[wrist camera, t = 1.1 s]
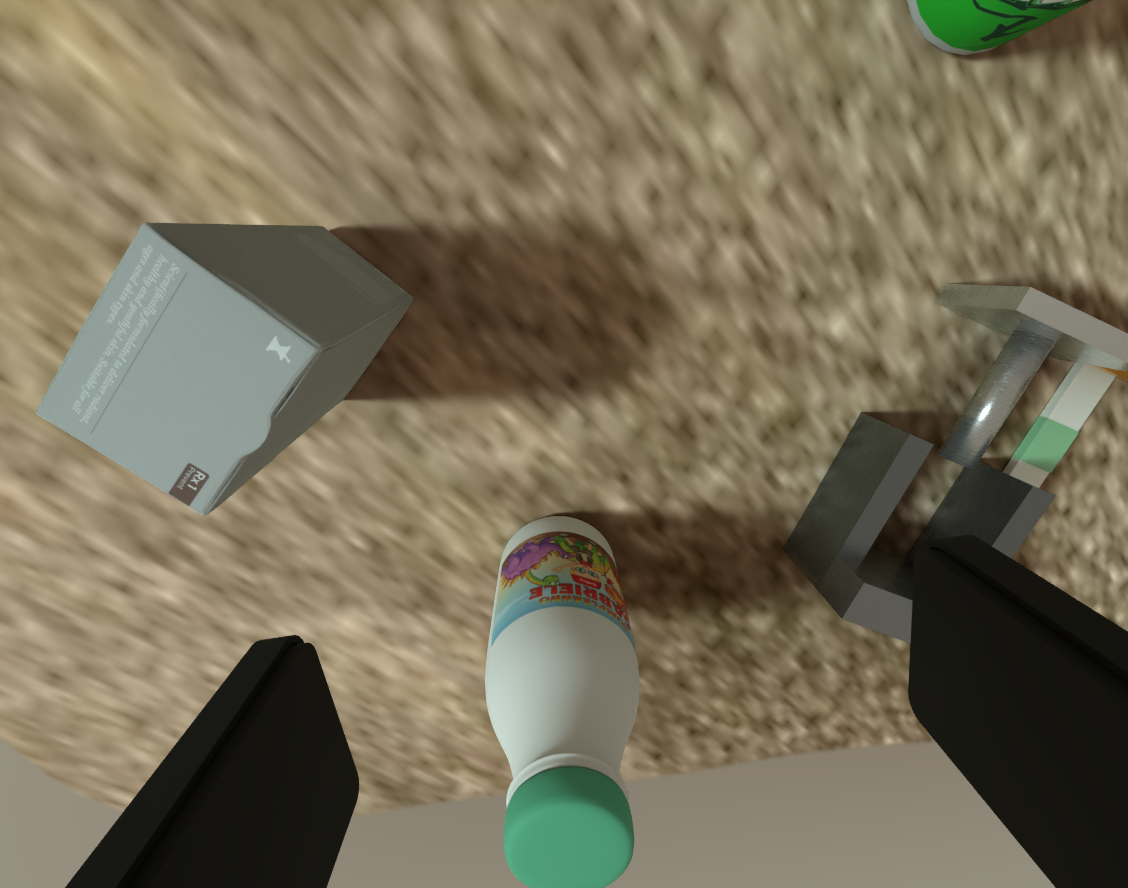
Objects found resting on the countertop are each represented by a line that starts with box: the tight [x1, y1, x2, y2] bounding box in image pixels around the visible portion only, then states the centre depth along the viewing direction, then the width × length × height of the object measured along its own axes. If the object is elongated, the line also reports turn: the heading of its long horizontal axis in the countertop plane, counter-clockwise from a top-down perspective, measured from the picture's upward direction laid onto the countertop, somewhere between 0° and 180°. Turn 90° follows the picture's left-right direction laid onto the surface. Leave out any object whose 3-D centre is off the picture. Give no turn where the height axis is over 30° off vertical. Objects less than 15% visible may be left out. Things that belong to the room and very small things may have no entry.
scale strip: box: [1003, 362, 1115, 488], centre depth 36 cm, size 9×2×1 cm, turn 158°
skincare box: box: [36, 222, 414, 516], centre depth 26 cm, size 8×7×16 cm
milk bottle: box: [485, 516, 639, 888], centre depth 29 cm, size 8×8×20 cm
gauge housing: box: [783, 412, 1056, 643], centre depth 34 cm, size 10×10×8 cm
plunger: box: [936, 284, 1128, 470], centre depth 33 cm, size 9×13×6 cm
